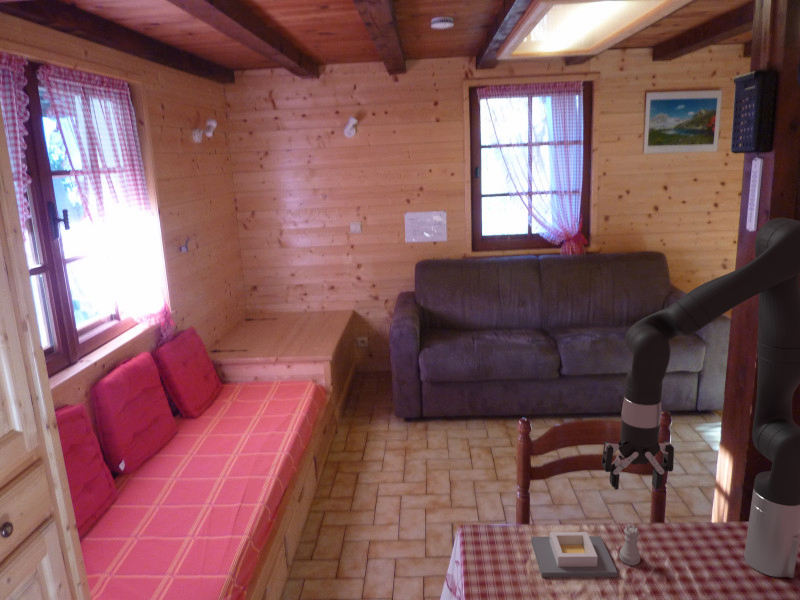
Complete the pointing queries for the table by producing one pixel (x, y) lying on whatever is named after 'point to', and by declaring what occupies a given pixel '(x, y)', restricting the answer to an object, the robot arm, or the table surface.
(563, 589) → the table surface
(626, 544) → the rook chess piece
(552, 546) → the square frame on plate
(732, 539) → the table surface
